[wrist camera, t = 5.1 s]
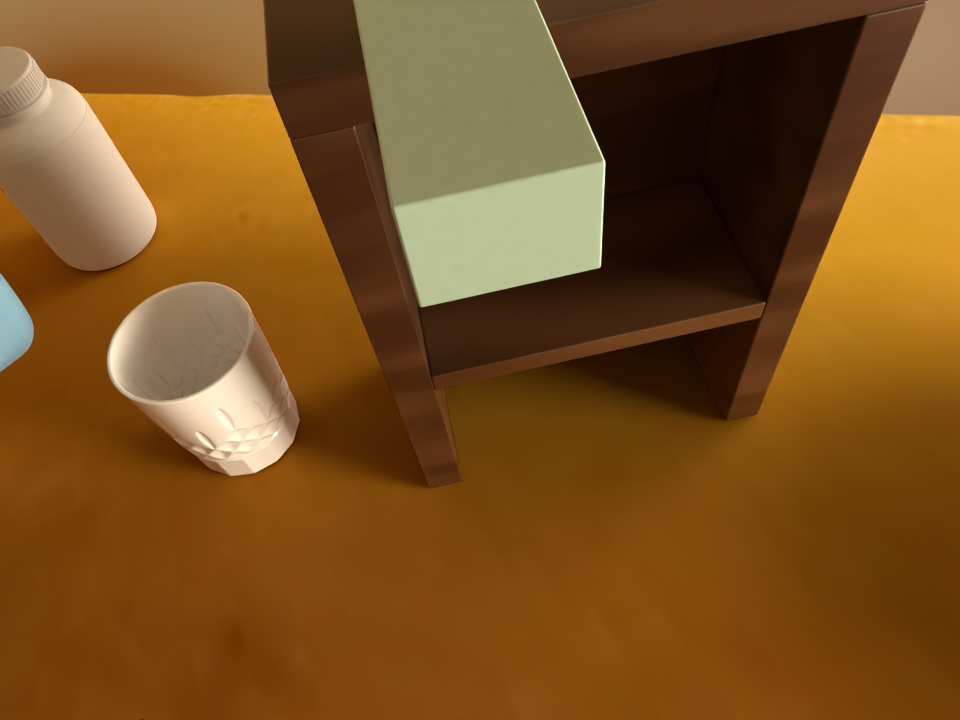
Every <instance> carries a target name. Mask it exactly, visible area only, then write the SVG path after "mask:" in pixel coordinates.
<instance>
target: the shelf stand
mask: <svg viewBox="0 0 960 720" xmlns="http://www.w3.org/2000/svg"><path fill="white" fill-rule="evenodd" d="M927 1H928V0H536V2H537V5H538V7H539V9H540V12H541V14H542V16H543V18H544V21H545V23H546V25H547V28H548V30H549V32H550V35H551V37H552V39H553V42H554V44H555V46H556V49H557V51H558V53H559V56H560V58H561V60H562V63H563V65H564V67H565V69H566V72H567V74H568V76H569V79H570V81H571V83H572V86H573V88H574V90H575V93H576V95H577V97H578V100H579V102H580V104H581V107H582V109H583V111H584V113H585V116H586V118H587V120H588V123H589V125H590V127H591V130H592V132H593V134H594V137H595V139H596V141H597V144H598V146H599V148H600V151H601V153H602V155H603V158H604V160H605V183H604V206H603V229H602V252H601V267H600V268H597V269H593V270H588V271H584V272H579V273H575V274H570V275H566V276H561V277H557V278H552V279H548V280H543V281H539V282H534V283H530V284H525V285H521V286H516V287H512V288H507V289H503V290H498V291H494V292H489V293H485V294H480V295H476V296H471V297H467V298H462V299H458V300H453V301H449V302H444V303H440V304H435V305H431V306H426V307H420V306H419V305H418V302H417V298H416V295H415V291H414V288H413V284H412V281H411V277H410V274H409V270H408V267H407V263H406V260H405V256H404V253H403V249H402V246H401V242H400V239H399V235H398V232H397V228H396V225H395V221H394V218H393V214H392V211H391V206H390V201H389V195H388V190H387V184H386V179H385V173H384V168H383V162H382V157H381V151H380V146H379V140H378V134H377V129H376V123H375V118H374V112H373V107H372V101H371V96H370V90H369V85H368V79H367V74H366V68H365V62H364V57H363V51H362V46H361V40H360V35H359V29H358V24H357V18H356V13H355V7H354V2H353V0H263V2H264V20H265V37H266V55H267V71H268V86H269V88H270V91H271V93H272V96H273V98H274V101H275V103H276V106H277V108H278V111H279V113H280V116H281V118H282V121H283V123H284V126H285V128H286V131H287V133H288V136H289V138H290V141H291V144H292V146H293V149H294V151H295V154H296V156H297V159H298V161H299V164H300V166H301V169H302V171H303V174H304V176H305V179H306V181H307V184H308V186H309V189H310V191H311V194H312V196H313V199H314V201H315V204H316V206H317V209H318V211H319V214H320V216H321V219H322V221H323V224H324V226H325V229H326V231H327V234H328V236H329V239H330V241H331V244H332V246H333V249H334V251H335V254H336V256H337V259H338V261H339V264H340V266H341V269H342V271H343V274H344V276H345V279H346V281H347V284H348V286H349V289H350V291H351V294H352V296H353V299H354V301H355V304H356V306H357V309H358V311H359V314H360V316H361V319H362V321H363V324H364V326H365V329H366V331H367V334H368V336H369V339H370V341H371V344H372V346H373V349H374V351H375V354H376V356H377V359H378V361H379V364H380V366H381V369H382V371H383V374H384V376H385V379H386V381H387V384H388V386H389V389H390V391H391V394H392V396H393V399H394V401H395V404H396V406H397V409H398V411H399V414H400V416H401V419H402V421H403V424H404V426H405V429H406V431H407V434H408V436H409V439H410V441H411V444H412V446H413V449H414V451H415V454H416V456H417V459H418V461H419V464H420V466H421V469H422V471H423V474H424V476H425V479H426V481H427V484H428V486H429V488H434V487H439V486H443V485H448V484H452V483H456V482H461V481H462V477H461V472H460V466H459V461H458V456H457V451H456V446H455V441H454V436H453V431H452V426H451V421H450V416H449V411H448V406H447V401H446V396H445V391H444V388H449V387H453V386H457V385H462V384H466V383H471V382H475V381H480V380H484V379H489V378H493V377H498V376H502V375H507V374H511V373H515V372H520V371H524V370H529V369H533V368H538V367H542V366H547V365H551V364H556V363H560V362H564V361H569V360H573V359H578V358H582V357H587V356H591V355H596V354H600V353H605V352H609V351H614V350H618V349H622V348H627V347H631V346H636V345H640V344H645V343H649V342H654V341H658V340H663V339H667V338H671V337H676V336H680V335H685V334H687V335H688V337H689V339H690V342H691V344H692V346H693V349H694V351H695V353H696V355H697V358H698V360H699V362H700V365H701V367H702V369H703V371H704V374H705V376H706V378H707V380H708V383H709V385H710V387H711V390H712V392H713V394H714V396H715V399H716V401H717V403H718V406H719V408H720V410H721V412H722V415H723V417H724V419H725V421H729V420H733V419H738V418H742V417H747V416H751V415H755V414H757V413H758V411H759V408H760V406H761V404H762V401H763V399H764V396H765V394H766V391H767V389H768V387H769V384H770V382H771V379H772V377H773V375H774V372H775V370H776V367H777V365H778V362H779V360H780V358H781V355H782V353H783V350H784V348H785V346H786V343H787V341H788V338H789V336H790V333H791V331H792V329H793V326H794V324H795V321H796V319H797V317H798V314H799V312H800V309H801V307H802V304H803V302H804V300H805V297H806V295H807V292H808V290H809V288H810V285H811V283H812V280H813V278H814V276H815V273H816V271H817V268H818V266H819V263H820V261H821V259H822V256H823V254H824V251H825V249H826V247H827V244H828V242H829V239H830V237H831V234H832V232H833V230H834V227H835V225H836V222H837V220H838V218H839V215H840V213H841V210H842V208H843V205H844V203H845V201H846V198H847V196H848V193H849V191H850V189H851V186H852V184H853V181H854V179H855V176H856V174H857V172H858V169H859V167H860V164H861V162H862V160H863V157H864V155H865V152H866V150H867V147H868V145H869V143H870V140H871V138H872V135H873V133H874V131H875V128H876V126H877V123H878V121H879V118H880V116H881V114H882V111H883V109H884V106H885V104H886V101H887V99H888V97H889V94H890V92H891V89H892V87H893V85H894V82H895V80H896V77H897V75H898V72H899V70H900V67H901V65H902V63H903V60H904V58H905V56H906V53H907V51H908V48H909V46H910V44H911V41H912V38H913V36H914V34H915V31H916V29H917V27H918V24H919V22H920V19H921V17H922V14H923V12H924V10H925V7H926V2H927Z"/></svg>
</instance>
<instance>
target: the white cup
mask: <svg viewBox="0 0 960 720" xmlns="http://www.w3.org/2000/svg"><path fill="white" fill-rule="evenodd" d="M107 370H108V374H109V377H110V379H111V381H112V383H113V384H114V386H115V387H116V388H117V389H118V390H119V391H120V392H121V393H122V394H123V395H124V396H125V397H126V398H127V399H129V400H130V401H131V402H132V403H133V404H134V405H135V406H137V407H138V408H139V409H140V410H141V411H142V412H143V413H144V414H145V415H147V416H148V417H149V418H150V419H151V420H152V421H153V422H154V423H155V424H157V425H158V426H159V427H160V428H161V429H162V430H163V431H164V432H166V433H167V434H168V435H169V436H170V437H172V438H173V439H174V440H175V441H176V442H178V443H179V444H180V445H181V446H182V447H184V448H185V449H187V450H188V451H190V452H191V453H193V454H194V455H195V456H197V457H198V458H199V459H200V460H201V461H202V462H203V463H204V464H205V465H206V466H207V467H208V468H210V469H211V470H214V471H217V472H220V473H223V474H226V475H229V476H236V475H244V474H252V473H256V472H258V471H260V470H262V469H264V468H265V467H267V466H269V465H271V464H272V463H274V462H276V461H278V460H279V458H280V457H281V456H282V455H283V454H284V452H285V451H286V450H287V449H288V448H289V446H290V445H291V444H292V443H293V441H294V438H295V435H296V431H297V428H298V425H299V421H300V419H299V415H298V410H297V405H296V401H295V399H294V397H293V395H292V393H291V391H290V389H289V387H288V384H287V382H286V379H285V377H284V374H283V372H282V370H281V369H280V366H279V364H278V362H277V359H276V357H275V355H274V353H273V351H272V349H271V347H270V346H269V344H268V342H267V340H266V338H265V336H264V334H263V332H262V330H261V328H260V326H259V324H258V322H257V320H256V318H255V317H254V315H253V313H252V311H251V309H250V307H249V305H248V303H247V302H246V300H245V299H244V298H243V297H242V296H241V295H240V294H239V293H238V292H236V291H235V290H233V289H231V288H229V287H227V286H225V285H222V284H218V283H213V282H190V283H184V284H180V285H176V286H173V287H170V288H167V289H165V290H162V291H160V292H158V293H156V294H154V295H152V296H151V297H149V298H148V299H146V300H145V301H143V302H142V303H140V304H139V305H138V306H137V307H135V308H134V309H133V310H132V311H131V312H130V313H129V314H128V315H127V316H126V317H125V318H124V320H123V321H122V322H121V324H120V325H119V326H118V328H117V329H116V331H115V333H114V335H113V337H112V339H111V342H110V344H109V348H108V352H107Z"/></svg>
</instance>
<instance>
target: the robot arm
mask: <svg viewBox="0 0 960 720" xmlns="http://www.w3.org/2000/svg"><path fill="white" fill-rule="evenodd" d="M33 335H34V327H33V323H32V320H31V317H30V315H29V314H28V312H27V310H26V309H25V307H24V306H23V304H22V303H21V301H20V300H19V298H18V297H17V295H16V294H15V292H14V291H13V289H12V288H11V287H10V285H9V284H8V283H7V281H6V280H5V279H4V277H3V276H2V274H1V273H0V372H1V371H2V370H4V369H5V368H6V367H8V366H9V365H10V364H12V363H13V362H14V361H15V360H17V359H18V358H19V357H21V356H22V355H23V354H24V353H25V352H26V351H27V350H28V348H29V347H30V345H31V343H32V340H33ZM141 720H144V719H141Z"/></svg>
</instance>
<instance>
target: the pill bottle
mask: <svg viewBox="0 0 960 720" xmlns="http://www.w3.org/2000/svg"><path fill="white" fill-rule="evenodd" d="M0 188H1V189H2V190H3V192H4V193H5V194H6V195H7V196H8V198H9V199H10V200H11V201H12V202H13V204H14V205H15V206H16V207H17V208H18V209H19V211H20V212H21V213H22V214H23V215H24V217H25V218H26V219H27V220H28V221H29V222H30V224H31V225H32V226H33V227H34V228H35V230H36V231H37V232H38V233H39V234H40V235H41V237H42V238H43V239H44V240H45V241H46V243H47V244H48V245H49V246H50V247H51V249H52V250H53V251H54V252H55V253H56V254H57V256H58V257H60V258H61V259H62V260H63V261H64V262H65V263H66V264H68V265H70V266H71V267H74V268H76V269H80V270H85V271H99V270H105V269H109V268H112V267H115V266H118V265H120V264H122V263H125V262H126V261H128V260H130V259H131V258H133V257H134V256H136V255H137V254H138V253H140V252H141V251H142V250H143V249H144V248H145V247H146V246H147V244H148V243H149V242H150V240H151V239H152V237H153V235H154V232H155V229H156V223H157V220H156V214H155V211H154V209H153V207H152V204H151V202H150V201H149V199H148V198H147V196H146V195H145V193H144V191H143V190H142V188H141V187H140V185H139V183H138V182H137V180H136V179H135V177H134V176H133V174H132V172H131V171H130V169H129V168H128V166H127V164H126V163H125V161H124V160H123V158H122V157H121V155H120V153H119V152H118V150H117V149H116V147H115V146H114V144H113V142H112V141H111V139H110V138H109V136H108V134H107V133H106V131H105V130H104V128H103V127H102V125H101V123H100V122H99V120H98V119H97V117H96V115H95V114H94V112H93V111H92V109H91V108H90V106H89V104H88V103H87V101H86V100H85V99H84V97H83V96H82V95H81V94H80V93H79V92H78V91H77V90H76V89H74V88H73V87H72V86H70V85H68V84H67V83H64V82H62V81H59V80H55V79H50V78H47V77H46V76H45V75H44V74H43V73H42V71H41V70H40V68H39V67H38V65H37V64H36V62H35V61H34V59H33V58H32V56H31V55H30V54H29V53H28V52H26V51H24V50H22V49H20V48H16V47H0Z"/></svg>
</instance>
